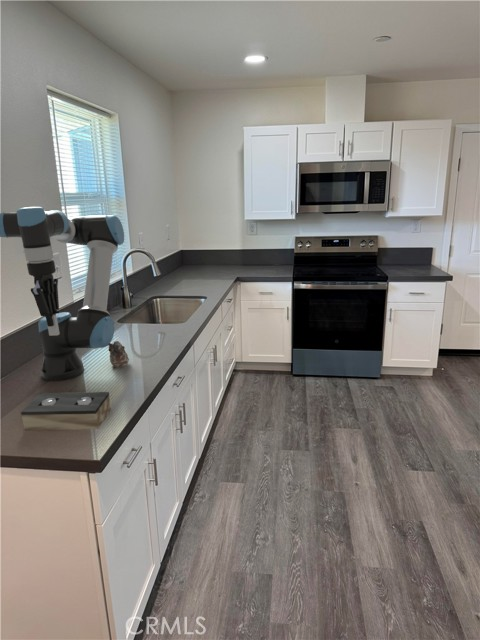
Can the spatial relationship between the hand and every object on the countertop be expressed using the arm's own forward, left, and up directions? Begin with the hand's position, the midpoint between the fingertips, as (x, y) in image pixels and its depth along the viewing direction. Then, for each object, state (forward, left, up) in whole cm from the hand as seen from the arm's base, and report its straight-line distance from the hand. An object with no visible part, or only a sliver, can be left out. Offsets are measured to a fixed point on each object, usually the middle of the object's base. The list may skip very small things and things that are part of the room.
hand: (54, 334), depth 136 cm
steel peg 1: (+11, 0, -24) cm, 26 cm away
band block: (+11, +6, -24) cm, 27 cm away
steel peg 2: (+11, +11, -23) cm, 28 cm away
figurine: (-33, +8, -22) cm, 40 cm away
